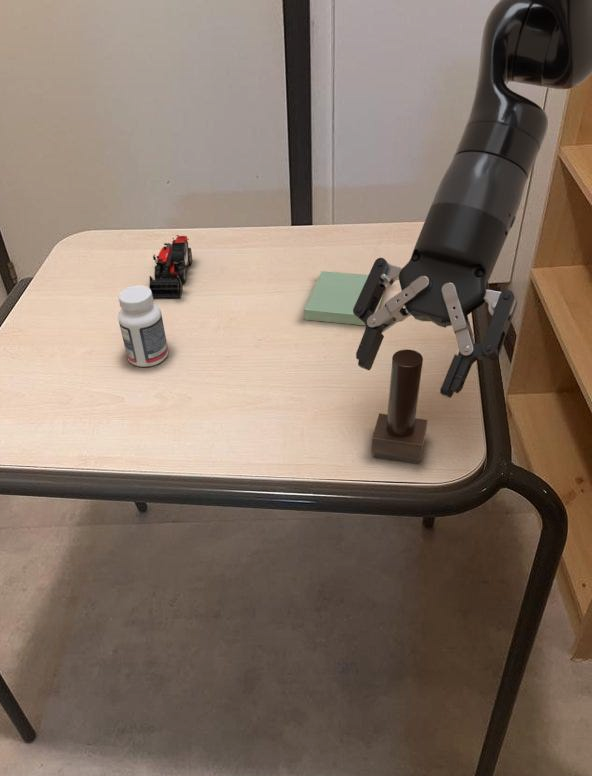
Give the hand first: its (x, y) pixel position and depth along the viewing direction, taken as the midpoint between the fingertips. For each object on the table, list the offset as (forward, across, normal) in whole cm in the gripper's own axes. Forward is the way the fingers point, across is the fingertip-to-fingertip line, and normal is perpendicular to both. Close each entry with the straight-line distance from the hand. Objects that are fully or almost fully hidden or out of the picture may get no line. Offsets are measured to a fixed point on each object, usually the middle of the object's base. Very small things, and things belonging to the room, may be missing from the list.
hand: (403, 381), depth 69 cm
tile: (-10, -19, +22) cm, 31 cm away
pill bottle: (+7, -35, +7) cm, 36 cm away
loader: (-5, -44, +18) cm, 48 cm away
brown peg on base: (+6, 0, +7) cm, 9 cm away
